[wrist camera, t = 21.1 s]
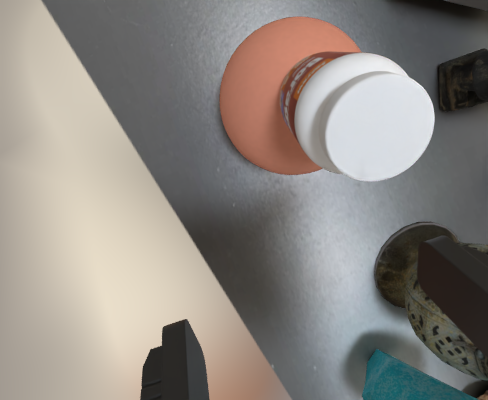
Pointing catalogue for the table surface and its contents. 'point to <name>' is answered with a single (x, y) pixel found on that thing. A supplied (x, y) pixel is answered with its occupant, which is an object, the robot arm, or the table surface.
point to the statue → (464, 81)
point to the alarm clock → (472, 3)
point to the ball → (272, 90)
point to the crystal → (404, 382)
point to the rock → (483, 396)
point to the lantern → (425, 297)
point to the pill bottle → (357, 114)
